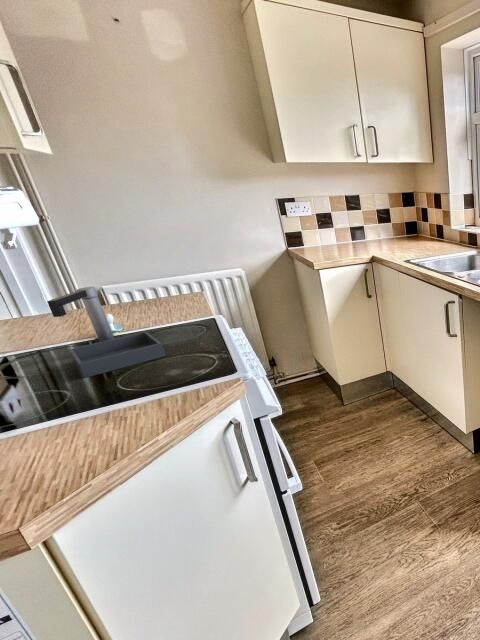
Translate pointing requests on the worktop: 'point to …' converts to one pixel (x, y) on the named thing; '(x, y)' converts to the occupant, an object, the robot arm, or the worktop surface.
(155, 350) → the sink
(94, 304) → the faucet column
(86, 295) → the spout
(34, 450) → the worktop surface
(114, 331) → the pacifier
